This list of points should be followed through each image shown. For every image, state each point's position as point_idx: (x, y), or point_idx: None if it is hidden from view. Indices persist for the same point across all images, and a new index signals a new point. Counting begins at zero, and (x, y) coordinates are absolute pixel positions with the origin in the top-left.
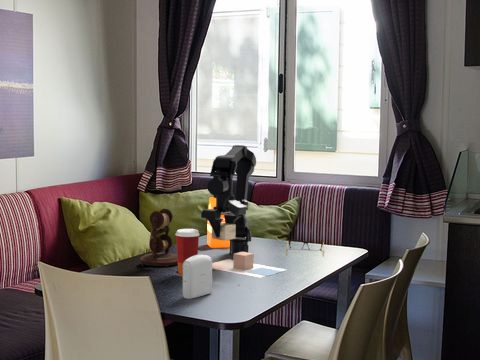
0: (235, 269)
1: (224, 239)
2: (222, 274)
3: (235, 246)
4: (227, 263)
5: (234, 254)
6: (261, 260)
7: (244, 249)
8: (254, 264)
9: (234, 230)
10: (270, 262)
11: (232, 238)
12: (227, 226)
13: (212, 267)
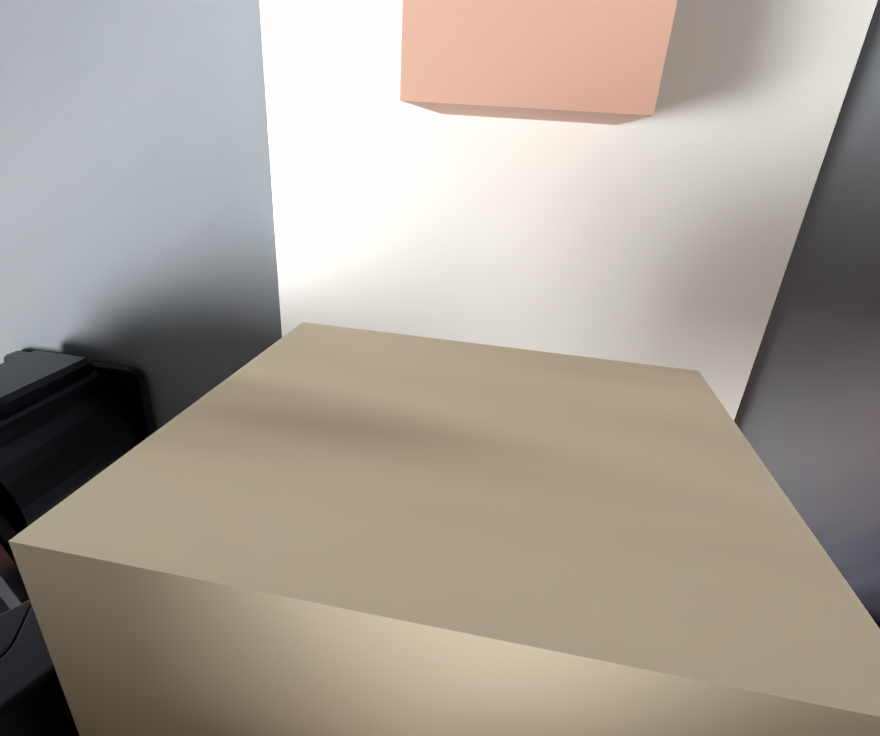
0: (685, 42)
1: (705, 393)
2: (865, 116)
3: (66, 475)
4: (447, 313)
5: (657, 89)
6: (30, 176)
7: (30, 384)
8: (292, 22)
9: (242, 415)
10: (10, 35)
11: (404, 338)
12: (693, 655)
13: (719, 337)
